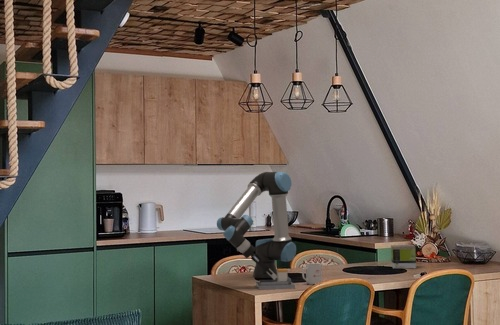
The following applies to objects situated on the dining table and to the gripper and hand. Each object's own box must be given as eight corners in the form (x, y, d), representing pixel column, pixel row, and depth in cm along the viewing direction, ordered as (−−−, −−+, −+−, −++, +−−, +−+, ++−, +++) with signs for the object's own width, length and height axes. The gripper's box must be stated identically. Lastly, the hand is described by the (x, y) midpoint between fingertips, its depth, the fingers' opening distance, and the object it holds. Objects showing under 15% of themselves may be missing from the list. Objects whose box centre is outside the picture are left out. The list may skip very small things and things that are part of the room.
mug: (316, 282, 404) (316, 263, 404) (324, 284, 396) (324, 264, 396) (298, 283, 398) (298, 264, 398) (306, 286, 390) (306, 266, 390)
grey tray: (259, 289, 381) (259, 280, 381) (256, 285, 394) (256, 276, 394) (294, 288, 383) (294, 279, 383) (290, 284, 396) (290, 275, 396)
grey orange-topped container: (278, 284, 386) (278, 270, 386) (277, 282, 391) (276, 268, 391) (287, 283, 387) (287, 270, 387) (286, 282, 392) (286, 268, 392)
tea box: (414, 266, 462) (413, 244, 462) (416, 268, 452) (415, 246, 452) (391, 266, 463) (391, 244, 463) (392, 268, 453) (392, 246, 453)
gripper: (240, 252, 393) (269, 281, 394) (242, 255, 380) (272, 284, 381) (249, 242, 393) (278, 271, 395) (252, 245, 380) (282, 275, 382)
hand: (275, 278), depth 388 cm, fingers closed
